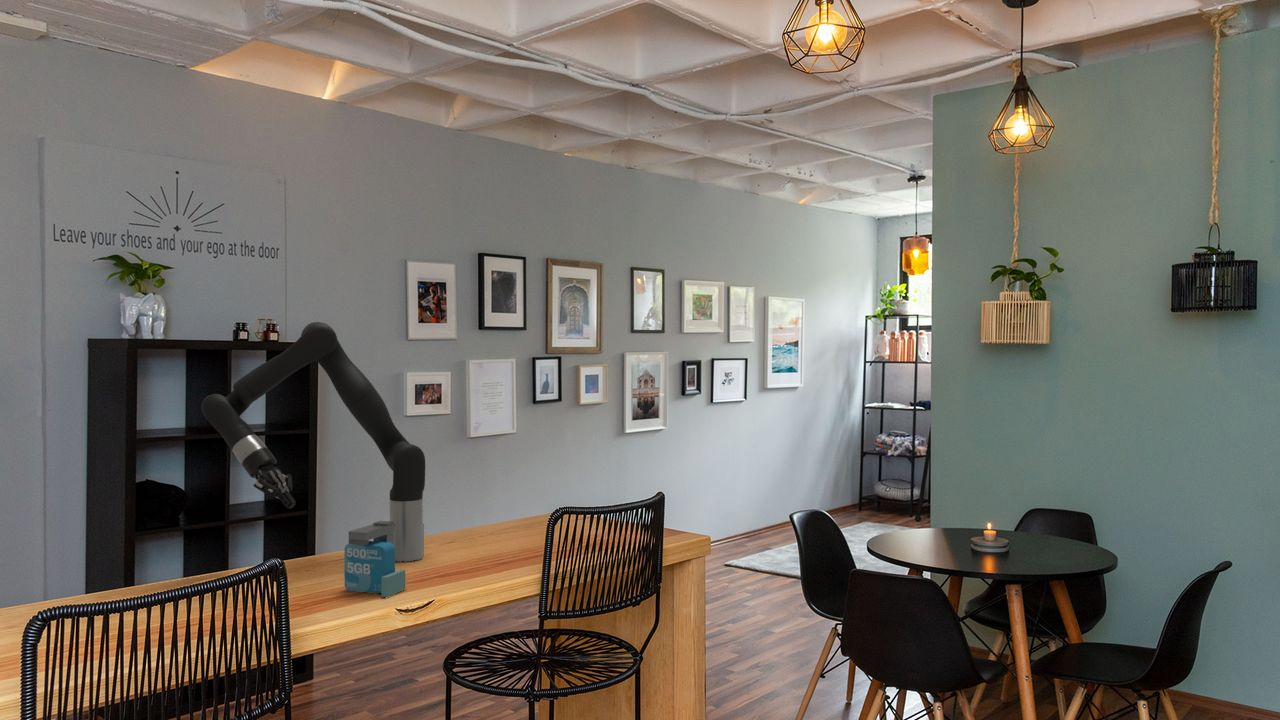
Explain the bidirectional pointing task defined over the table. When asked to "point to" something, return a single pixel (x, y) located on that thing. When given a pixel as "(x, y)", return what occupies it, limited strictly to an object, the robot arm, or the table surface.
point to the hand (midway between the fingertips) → (292, 506)
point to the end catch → (392, 583)
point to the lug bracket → (373, 533)
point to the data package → (367, 565)
